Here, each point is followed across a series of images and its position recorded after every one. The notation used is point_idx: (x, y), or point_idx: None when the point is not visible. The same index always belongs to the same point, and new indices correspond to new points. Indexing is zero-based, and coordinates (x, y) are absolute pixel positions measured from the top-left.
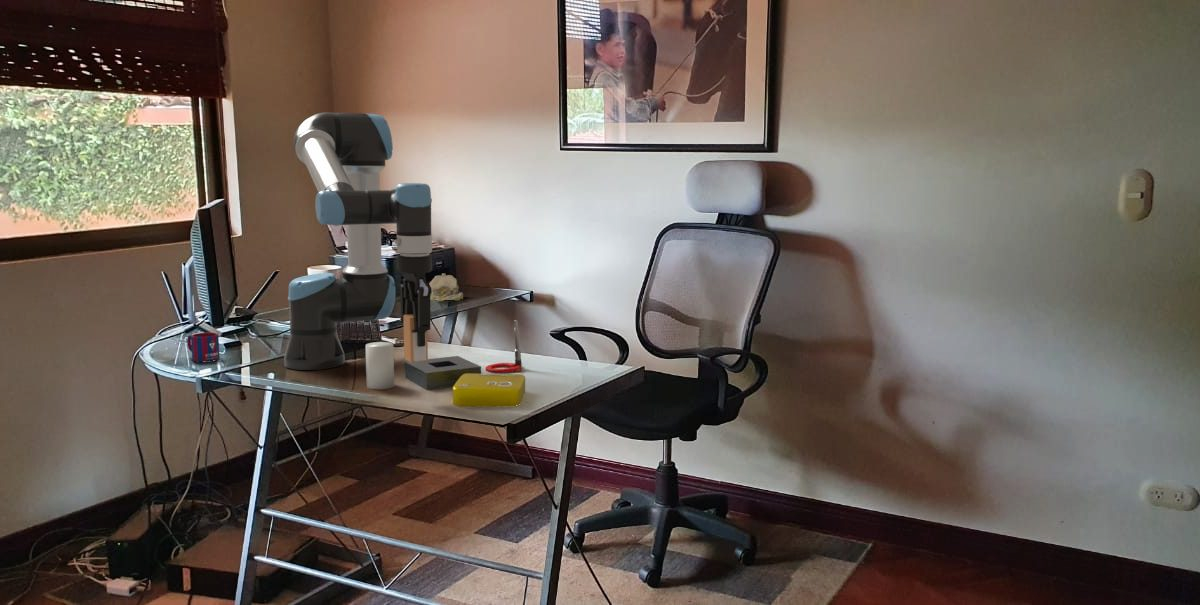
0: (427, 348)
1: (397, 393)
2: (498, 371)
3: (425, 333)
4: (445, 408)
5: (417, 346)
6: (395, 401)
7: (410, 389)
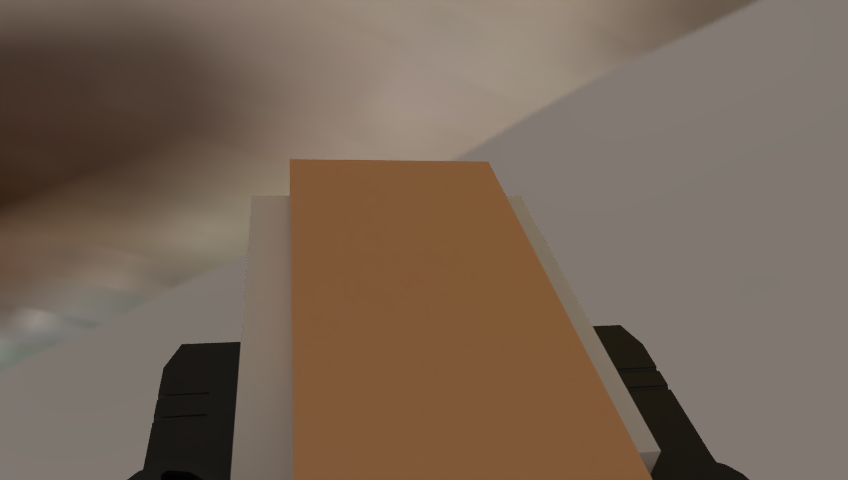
0: (526, 237)
1: (139, 134)
2: None
3: (644, 427)
4: (677, 26)
5: None
6: None
7: (45, 7)
